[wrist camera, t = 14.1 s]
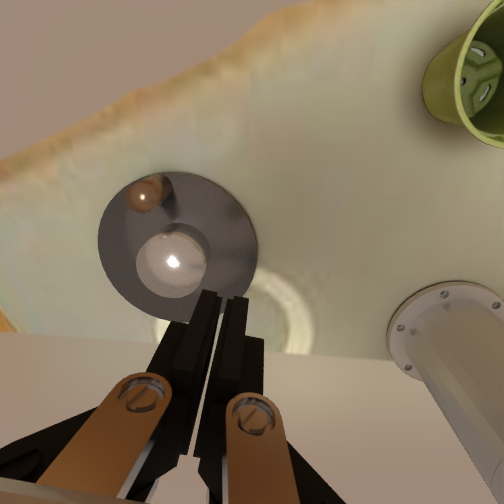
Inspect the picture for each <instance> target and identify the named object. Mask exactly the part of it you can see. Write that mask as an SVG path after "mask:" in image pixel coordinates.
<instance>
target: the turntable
mask: <svg viewBox="0 0 504 504" xmlns="http://www.w3.org/2000/svg"><path fill="white" fill-rule="evenodd" d="M172 223H185V224H188V225H191V226H193V227H195V228H197V229H198V230H199V231H200V232H201V233H202V234H203V235H204V236H205V237H206V239H207V241H208V243H209V245H210V250H211V257H210V261H209V264H208V266H207V269H206V271H205V273H204V276H203V278H202V281H201V283H200V284H199V286H198V287H197V289H195V290H194V291H193V292H192V293H190V294H188V295H186V296H184V297H179V298H168V297H163V296H160V295H158V294H156V293H154V292H152V291H151V290H150V289H148V288H147V287H146V286H145V285H144V284H143V282H142V281H141V279H140V277H139V275H138V273H137V269H136V258H137V255H138V252H139V250H140V249H141V247H142V246H143V245H144V244H145V243H146V242H147V241H148V240H149V239H150V238H151V237H152V236H153V235H154V234H155V233H156V232H157V231H158V230H160V229H161V228H162V227H164V226H166V225H168V224H172ZM98 250H99V255H100V259H101V262H102V266H103V268H104V270H105V272H106V275H107V277H108V278H109V280H110V281H111V283H112V285H113V286H114V287H115V288H116V290H117V291H118V292H119V293H120V294H121V295H122V296H123V297H124V298H125V299H126V300H127V301H128V302H130V303H131V304H132V305H134V306H135V307H137V308H138V309H140V310H141V311H143V312H145V313H147V314H149V315H152V316H154V317H157V318H160V319H164V320H168V321H177V322H190V319H191V317H192V314H193V312H194V309H195V307H196V304H197V302H198V299H199V297H200V294H201V292H202V289H205V290H210V291H215V292H218V294H217V296H219V297H223V298H222V304H221V309H220V314H222V313H224V311H225V306H226V302H227V298H229V299H233V298H234V296H239V297H242V296H243V295H244V294H245V292H246V291H247V289H248V288H249V285H250V283H251V281H252V279H253V275H254V272H255V267H256V261H257V245H256V238H255V234H254V230H253V227H252V225H251V223H250V220H249V218H248V216H247V215H246V213H245V211H244V210H243V208H242V207H241V206H240V205H239V203H238V202H237V201H236V200H235V199H234V198H233V197H232V196H231V195H230V194H229V193H228V192H226V191H225V190H224V189H223V188H221V187H220V186H218V185H216V184H215V183H213V182H211V181H209V180H207V179H204V178H202V177H200V176H196V175H192V174H188V173H181V172H163V173H156V174H152V175H149V176H146V177H143V178H141V179H139V180H136V181H134V182H132V183H131V184H129V185H127V186H126V187H124V188H123V189H122V190H121V191H120V192H118V193H117V194H116V195H115V196H114V198H113V199H112V200H111V201H110V203H109V204H108V206H107V208H106V209H105V211H104V213H103V216H102V218H101V222H100V226H99V231H98ZM220 314H219V315H220Z"/></svg>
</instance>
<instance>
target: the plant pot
mask: <svg viewBox="0 0 504 504" xmlns="http://www.w3.org/2000/svg"><path fill="white" fill-rule="evenodd" d="M470 48H479V49H482V50H483V51H484V52H485V54H486V55H485V57H481V56H480V55H479V54H477V53H475V52H473V51H471V50H470ZM462 78H465V79H466V82H465V84H464V85H460V80H461V79H462ZM489 84H490V86H491V88H490V90H489V92H488V94H487V96H486V97H485V99H484V100H482V101H479V99H480V97H481V96H482V95H483V94H484V93H485V91H486V89H487V87H488V85H489ZM422 91H423V97H424V101H425V106H426V108H427V110H428V111H429V112H430V113H431V114H432V115H433V116H434V117H435V118H437V119H439V120H441V121H445V122H448V123H451V124H455V125H459V126H462V127H465V128H466V129H467V130H468V131H469V132H470V133H471V134H472V135H473V136H474V137H475V138H477V139H478V140H480V141H481V142H483V143H486V144H488V145H491V146H494V147H498V148H503V149H504V0H493V1H492V2H491V3H490V4H489V5H488V6H487V7H486V8H485V9H484V11H483V12H482V13H481V14H480V16H479V17H478V18H477V19H476V21H475V22H474V24H473V25H472V27H471V29H469V30H468V31H467V32H465V33H464V34H463V35H461V36H460V37H459V38H457V39H456V40H455V41H453V42H452V43H451V44H449V45H448V46H446V47H445V48H444V49H443V50H442V51H440V52H439V53H438V54H437V55H436V57H435V58H434V59H433V60H432V62H431V63H430V65H429V67H428V69H427V71H426V73H425V76H424V79H423V84H422Z"/></svg>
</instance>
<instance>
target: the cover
mask: <svg viewBox="0 0 504 504" xmlns="http://www.w3.org/2000/svg"><path fill="white" fill-rule="evenodd" d="M210 257H211V250H210V245H209V243H208V241H207V239H206V237H205V236H204V235H203V234H202V233H201V232H200V231H199V230H198V229H197V228H195V227H193V226H191V225H188V224H185V223H172V224H168V225H166V226H164V227H162V228H161V229H160V230H158V231H157V232H156V233H155V234H154V235H153V236H152V237H151V238H150V239H149V240H148V241H147V242H146V243H145V244H144V245H143V246H142V247H141V249H140V250H139V252H138V255H137V258H136V269H137V273H138V275H139V277H140V279H141V281H142V282H143V284H144V285H145V286H146V287H147V288H148V289H150V290H151V291H152V292H154V293H156V294H158V295H160V296H163V297H168V298H179V297H184V296H186V295H188V294H190V293H192V292H193V291H194V290H195V289H197V287H198V286H199V284H200V283H201V281H202V278H203V276H204V273H205V271H206V269H207V266H208V264H209V261H210Z"/></svg>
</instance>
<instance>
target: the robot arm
mask: <svg viewBox="0 0 504 504" xmlns="http://www.w3.org/2000/svg"><path fill="white" fill-rule="evenodd" d="M217 294H218V292H215V291H210V290H205V289H202V292H201V294H200V297H199V299H198V302H197V304H196V307H195V309H194V312H193V314H192V317H191V319H190V322H189V324H186V323H182V322H177V321H171V322H170V324H169V326H168V328H167V330H166V332H165V334H164V336H163V338H162V340H161V342H160V344H159V346H158V348H157V350H156V352H155V354H154V356H153V358H152V360H151V362H150V364H149V366H148V368H147V370H146V372H141V373H135V374H132V375H129V376H127V377H126V378H123V379H122V380H121V381H120V382H118V383H117V384H116V385H115V387H114V388H113V389H112V390H111V392H110V393H109V394H108V395H107V396H106V398H105V399H104V400H103V402H102V403H101V404H100V405H99V406H98V407H96V408H93V409H91V410H88V411H86V412H84V413H81V414H79V415H77V416H74V417H72V418H69V419H67V420H64V421H62V422H60V423H58V424H55V425H53V426H50V427H48V428H46V429H43V430H41V431H38V432H36V433H34V434H31V435H29V436H26V437H24V438H22V439H19V440H17V441H14V442H12V443H10V444H8V445H6V446H5V447H3V448H1V449H0V504H149V503H150V501H151V499H152V497H153V494H154V492H155V490H156V488H157V485H158V482H159V478H160V476H162V475H163V474H165V473H167V472H168V471H170V470H171V469H173V468H174V467H176V466H177V463H178V459H179V455H180V454H182V455H187V453H188V449H189V445H190V441H191V437H192V433H193V429H194V425H195V421H196V417H197V413H198V409H199V405H200V400H201V396H202V392H203V388H204V384H205V380H206V376H207V372H208V368H209V363H210V359H211V354H212V349H213V344H214V339H215V334H216V329H217V324H218V319H219V314H220V309H221V304H222V298H223V297H219V296H217ZM248 303H249V298H244V297H239V296H234V298H233V299H229V298H227V302H226V306H225V311H224V315H223V319H222V323H221V328H220V332H219V336H218V340H217V345H216V349H215V353H214V358H213V362H212V366H211V370H210V375H209V380H208V384H207V389H206V394H205V399H204V404H203V410H202V414H201V419H200V424H199V429H198V434H197V439H196V444H195V449H194V454H193V457H198V458H200V463H199V468H198V473H199V475H200V476H201V478H202V479H203V481H204V482H205V484H206V485H207V487H208V488H207V493H206V504H346V503H345V502H344V501H343V500H342V499H341V498H340V497H339V496H338V495H337V493H336V492H335V491H334V490H333V489H332V488H331V487H330V486H329V485H328V484H327V483H326V482H325V481H324V480H323V479H322V478H321V476H320V475H319V474H318V473H317V472H316V471H315V470H314V469H313V468H312V467H311V466H310V465H309V464H308V463H307V461H306V460H305V459H304V458H303V457H302V456H301V455H300V454H299V453H298V452H297V451H296V450H295V449H294V448H293V447H292V445H291V444H290V443H289V442H288V441H287V440H286V436H285V431H284V426H283V421H282V418H281V415H280V412H279V409H278V408H277V407H276V405H275V404H274V403H273V402H272V401H271V400H269V399H268V398H267V397H265V396H263V373H264V369H263V368H264V339H261V338H256V337H251V336H246V335H245V330H246V321H247V312H248ZM387 345H388V349H389V352H390V354H391V356H392V358H393V360H394V361H395V363H396V365H397V366H398V367H399V368H400V369H401V370H402V371H403V372H404V373H406V374H408V375H409V376H410V377H412V378H415V379H418V380H420V381H423V382H424V383H425V385H426V386H427V388H428V390H429V391H430V393H431V395H432V396H433V397H434V399H435V401H436V403H437V404H438V406H439V408H440V409H441V411H442V412H443V414H444V416H445V417H446V419H447V420H448V422H449V424H450V426H451V427H452V429H453V430H454V432H455V434H456V435H457V437H458V439H459V440H460V442H461V444H462V445H463V446H464V448H465V450H466V451H467V453H468V455H469V457H470V458H471V460H472V462H473V463H474V465H475V466H476V468H477V470H478V471H479V473H480V475H481V476H482V478H483V479H484V481H485V483H486V484H487V486H488V488H489V489H490V491H491V493H492V494H493V496H494V497H495V499H496V501H497V503H498V504H504V301H503V300H502V299H501V298H500V297H499V296H498V295H496V294H495V293H493V292H492V291H490V290H489V289H487V288H485V287H483V286H480V285H478V284H474V283H469V282H447V283H441V284H438V285H434V286H431V287H428V288H426V289H424V290H422V291H420V292H418V293H417V294H415V295H414V296H412V297H411V298H409V299H408V300H407V301H406V302H405V303H404V304H403V305H402V306H401V307H400V308H399V309H398V310H397V312H396V313H395V314H394V316H393V318H392V320H391V322H390V324H389V328H388V332H387Z"/></svg>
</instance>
